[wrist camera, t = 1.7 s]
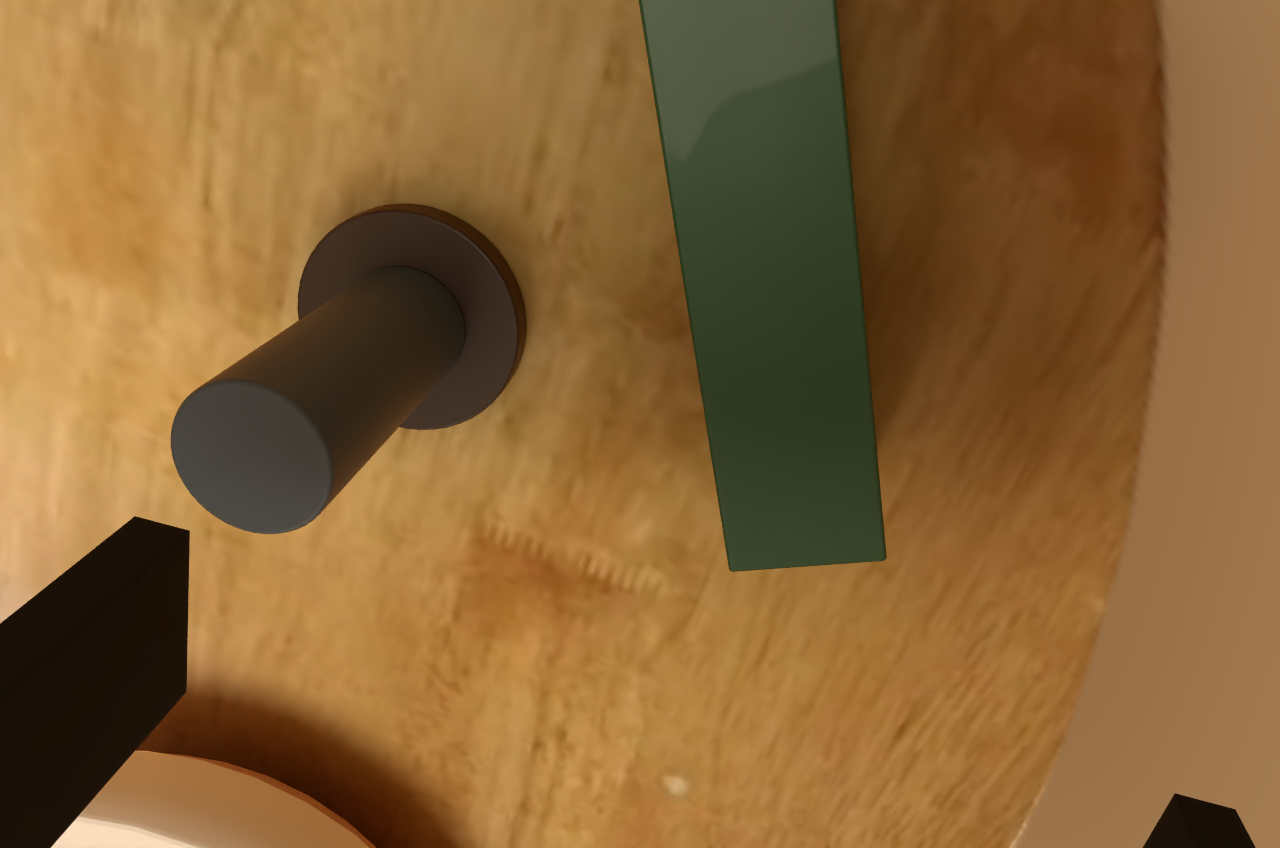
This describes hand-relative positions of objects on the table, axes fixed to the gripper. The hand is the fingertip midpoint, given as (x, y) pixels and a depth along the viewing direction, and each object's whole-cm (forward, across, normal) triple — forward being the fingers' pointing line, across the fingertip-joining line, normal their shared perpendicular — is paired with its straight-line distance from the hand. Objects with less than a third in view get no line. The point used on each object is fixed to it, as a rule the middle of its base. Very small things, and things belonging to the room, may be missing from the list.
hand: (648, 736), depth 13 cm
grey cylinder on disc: (+14, -8, -1) cm, 16 cm away
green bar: (+14, 0, +5) cm, 15 cm away
